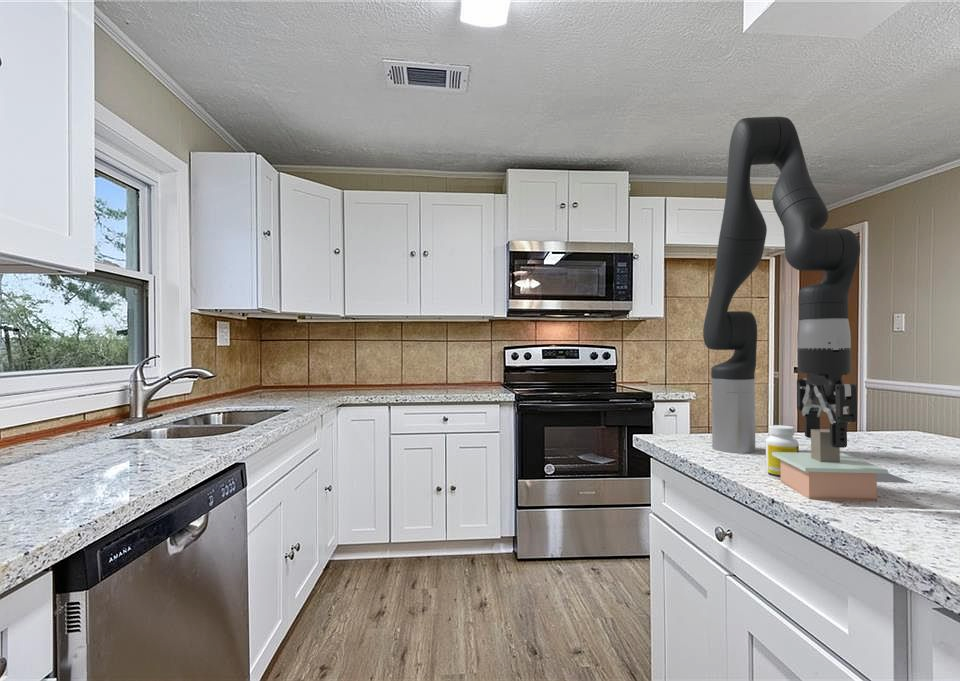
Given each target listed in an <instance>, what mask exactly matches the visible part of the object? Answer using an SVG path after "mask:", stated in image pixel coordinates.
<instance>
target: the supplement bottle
mask: <svg viewBox="0 0 960 681" xmlns="http://www.w3.org/2000/svg"><path fill="white" fill-rule="evenodd" d="M769 434H770V436H768V437H767V438H766V439H765V476H767V477H768V478H772V479H775V480H780V481H781V468H780V459H779V458H777V457H775V456H772V452H799V453H800V451H799V450H800V449H799V448H800V447H799V446H800V445H799V444H800V443H799V441H798V439H796V438H794V437H793V436H794V435H795V427H794V426H790V425H779V424H774V425H769Z"/></svg>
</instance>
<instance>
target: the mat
mask: <svg viewBox="0 0 960 681" xmlns="http://www.w3.org/2000/svg"><path fill="white" fill-rule="evenodd" d="M877 483H903V484H904V483H906V484H907V483H909V484H910V483H911V484H913V483H914V482H913V481H910V480H908V479H905V478H902V477H899V476H897V475H894V474H891V473H890V472H888V474H886V473H877Z"/></svg>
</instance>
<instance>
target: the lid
mask: <svg viewBox="0 0 960 681" xmlns="http://www.w3.org/2000/svg"><path fill="white" fill-rule="evenodd" d="M840 449H841V448H836V447H832V446H831V445H830V428H827V429H825V428H823V429H822V428H820V429H811V438H810V452H800V451H799V452H772V456H775V457H777V458H779V459H781V460H783V461H785V462H787V463H789V464H791V465H793V466H795V467H797V468H799V469H801V470H803V471H805V472H841V473H886V474H888V473H889V470H888V469H887V468H884V467H882V466H879V465H876V464H874V463H871V462H868V461H865V460H862V459H859V458H858V457H854V456H852V455H849V454H846V453H843V452H841V450H840Z"/></svg>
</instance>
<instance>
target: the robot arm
mask: <svg viewBox="0 0 960 681" xmlns="http://www.w3.org/2000/svg"><path fill="white" fill-rule="evenodd" d="M730 136H731V137H730V141H729V148H728V149H729V150H728V160H727V175H726V176H727V179H726V192H725V200H724V208H723V213H722V214H723V215H722V220H721V224H720V230H719V231H720V232H719V237H718V243H717V244H718V245H717V251H716V260H715V268H714V276H713V282H712V287H711V291H710V296H709V301H708V304H707V309H706V313H705V316H704V323H703V330H702V332H703V333H702V335H703V336H702V339H703V343H704V345H705V347H706V348H708V349H709V350H713V351H730V350H731V351H733V354H732V356H731V357H730V358H729V359H727V360H726V361H724V362H721V363H718V364H716V365H715V364H714V365H713V366H712V367H711V369H710V370H711V371H710V375H711V376H710V377H711V437H712V438H711V440H712V441H711V443H712V445H711V446H712V447H711V448H712V450H714V451H718V452H722V453H728V454H754V453H756V450H757V449H756V448H757V446H756V397H755V396H756V393H755V390H756V389H755V387H756V384H755V379H756V378H755V372H756V366H757V348H758V347H757V346H758V325H757V319H756V318H755V315H754V314H753V313H752V312H751V311H746V310H741V311H738V310H734V311H731V310H729V307H730V304H731V302H732V299H733V297H734V296H735V294H736V292H737V291H738V289H739V288H740V287H741V285H743V284H744V282H745V281H746V280H747V279H748V278H749V277H750V275H751V274H752V273H753V272H754V271H755V269H756V268H757V267H758V265H759V264H760V263H761V260H762V258H763V254H764V249H765V244H766V238H767V230H768V229H767V228H768V227H767V224H766V223H767V222H766V220H765V218H764V215H763V214H762V212H761V210H760V208H759V206H758V204H757V201H756V199H755V198H754V195H753V192H752V187H751V169H752V166H758V165H759V166H761V165H772V164H773V165H775V166H776V167H777V168H778V169H779V171H780V173H779V176H778V179H777V181H776V183H775V185H774V187H773V190H772V195H771V196H772V205H773V208H774V211H775V213H776V215H777V216H778V217H777V218H778V219H779V221H780V223H781V225H782V228H783V236H784V254H785V255H784V256H785V260H786V262H787V263H788V264H789V266H791V267H792V268H794V269H795V270H797V271H799V272H815V271H816V272H817V271H821V272H823V271H824V275H823V278H822V280H821V282H820V283H816V284H811V285H807V286H804V287H802V288H801V289H800V290H799V293H798V298H797V299H798V325H797V333H796V336H797V337H796V339H797V342H796V343H797V344H796V346H797V372H798V373H800V374H801V375H806V378H797V379H796V410H797V412H801V414H802V415H801V416H802V417H804V436H805V437H806V438H808V439H811V429H821V417H820V415H821V412H822V411H823V412H824V413H826V414H827V417H828V420H829V422H830V423H829V429H830V445H831V446H832V447H836V448H840V449H841V448H842V449H845V448H847V446H848V425H849V424H850V423H856V422H857V421H858V413H857V412H858V408H857V407H858V406H857V404H858V403H857V385H856V384H854V383H844V382H843V376H844V375H849V374H851V373H852V349H851V348H852V347H851V346H852V343H851V342H852V338H851V328H850V323H849V293H850V289H851V286H852V282H853V279H854V275H855V271H856V269H857V265H858V262H859V259H860V256H861V243H860V240H859V237H858V236H857V235H856V234H855V233H854V231H852V230H850V229H847V228H823V227H824V226H825V225H826V224H827V222H828V219H829V211H828V208H827V206H826V205H825V203H824V201H823V199H822V197H821V196H820V193H819V192H818V190H817V189H816V187H815V185H814V183H813V180H812V178H811V176H810V173H809V171H808V167H807V164H806V163H807V162H806V159H805V156H804V151H803V148H802V144H801V141H800V137H799V134H798V131H797V129H796V126H795V124H794V122H793V121H792V120H791V119H790V118H788V117H784V116H759V117H758V116H756V117H755V116H754V117H743V118H741V119H740V120H738V121H737V122H736V124H735V126H734V127H733V130H732V133H731V135H730ZM822 228H823V229H822ZM847 410H848V411H847Z"/></svg>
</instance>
